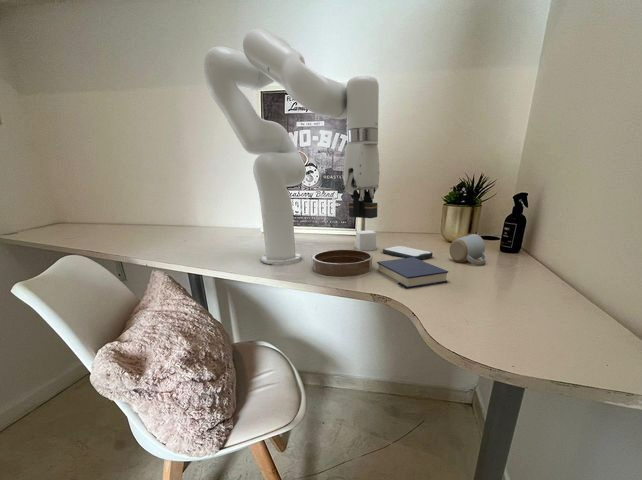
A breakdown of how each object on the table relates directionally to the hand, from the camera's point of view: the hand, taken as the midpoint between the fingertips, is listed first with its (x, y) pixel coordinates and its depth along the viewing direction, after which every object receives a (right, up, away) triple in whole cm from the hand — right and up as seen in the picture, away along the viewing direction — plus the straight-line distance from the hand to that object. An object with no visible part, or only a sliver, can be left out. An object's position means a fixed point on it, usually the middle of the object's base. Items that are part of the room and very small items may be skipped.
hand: (363, 215), depth 89 cm
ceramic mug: (+34, -10, +15) cm, 38 cm away
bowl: (-5, -13, +9) cm, 17 cm away
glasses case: (0, 0, 0) cm, 0 cm away
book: (+13, -16, +1) cm, 21 cm away
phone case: (+16, -7, +23) cm, 29 cm away
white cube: (+3, -2, +33) cm, 34 cm away
